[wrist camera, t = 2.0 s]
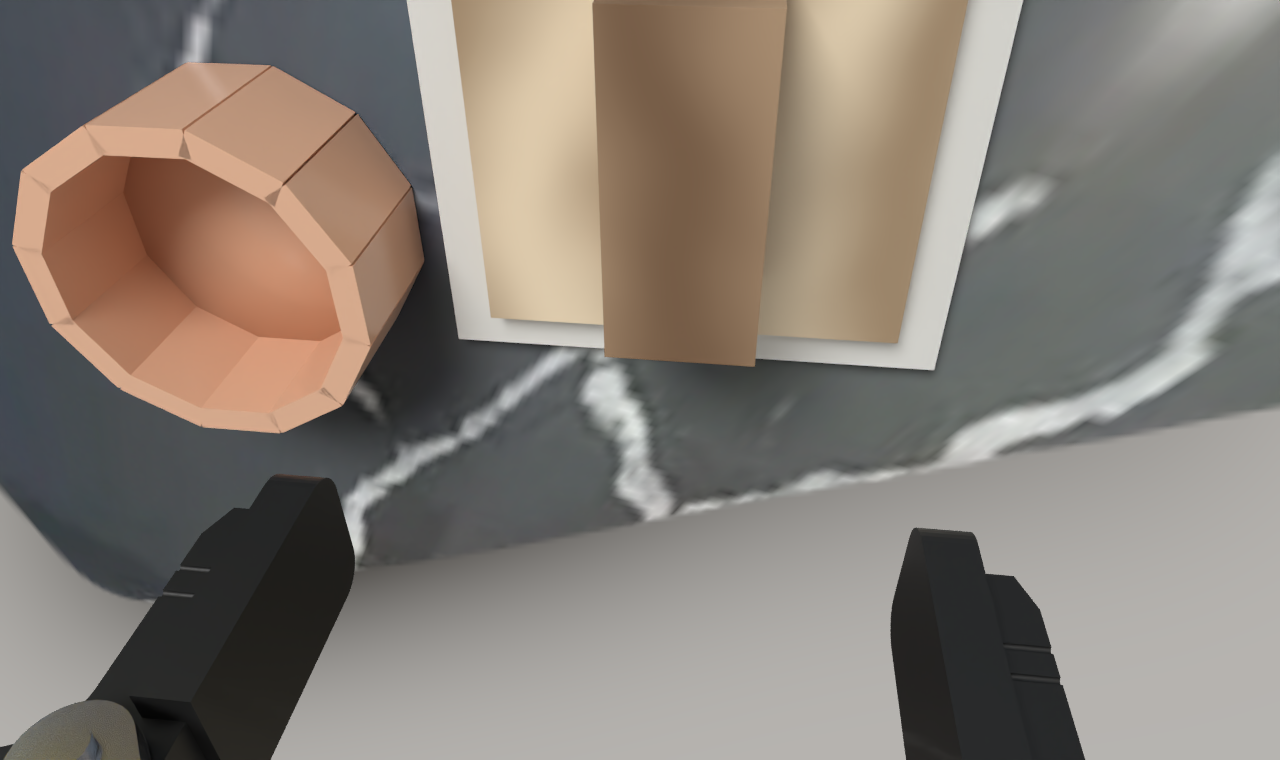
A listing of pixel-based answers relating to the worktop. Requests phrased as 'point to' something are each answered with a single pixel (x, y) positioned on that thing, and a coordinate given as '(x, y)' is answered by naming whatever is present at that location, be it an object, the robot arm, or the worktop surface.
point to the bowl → (222, 245)
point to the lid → (704, 164)
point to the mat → (917, 346)
